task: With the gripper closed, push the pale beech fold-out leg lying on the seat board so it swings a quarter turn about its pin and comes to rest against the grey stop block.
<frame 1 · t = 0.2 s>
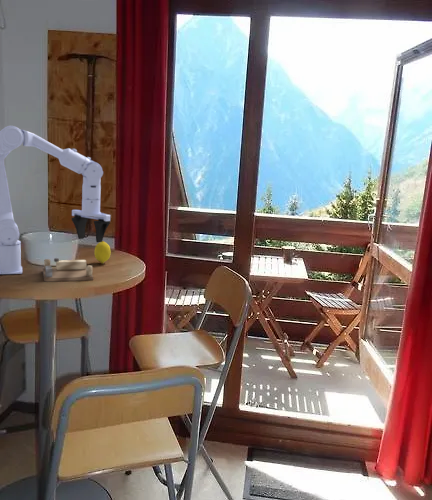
hand: (90, 240, 160), 10 cm above the table, tool pointing down, fingers open, 7 cm apart
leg: (70, 263, 155), point 3 cm above the table, hinge at 0.0°
lemon: (102, 264, 170), on the table
seat board: (67, 275, 151), on the table
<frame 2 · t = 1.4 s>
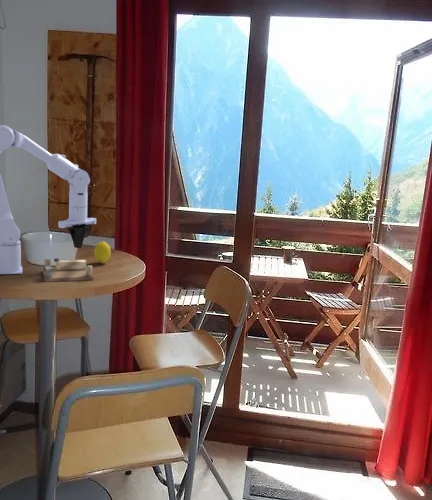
hand: (77, 247, 160), 7 cm above the table, tool pointing down, fingers closed
nothing on the table moved.
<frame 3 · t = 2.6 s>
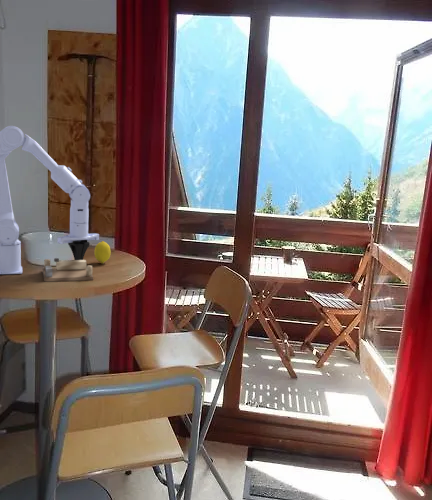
hand: (78, 263, 159), 2 cm above the table, tool pointing down, fingers closed, pressing on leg
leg: (70, 263, 155), point 3 cm above the table, hinge at 0.0°, touching gripper
everything else where it was.
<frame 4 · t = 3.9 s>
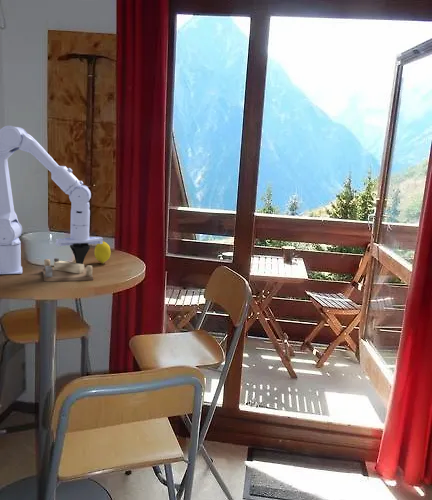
hand: (79, 267, 154), 2 cm above the table, tool pointing down, fingers closed
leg: (68, 265, 152), point 3 cm above the table, hinge at 37.5°, touching gripper
everything else where it was.
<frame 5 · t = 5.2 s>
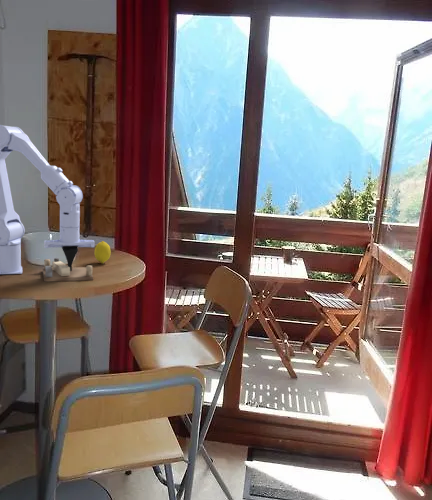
hand: (69, 270, 149), 2 cm above the table, tool pointing down, fingers closed, pressing on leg
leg: (60, 266, 150), point 3 cm above the table, hinge at 76.8°, touching gripper
everything else where it was.
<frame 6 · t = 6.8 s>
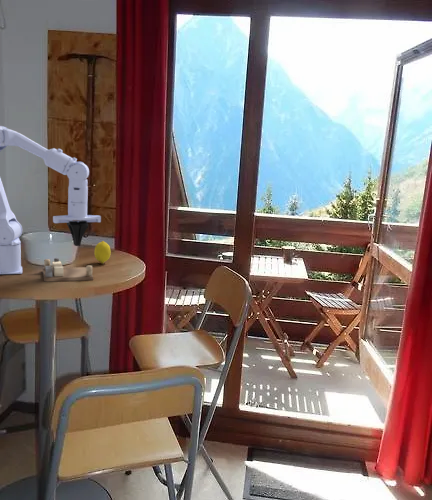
hand: (76, 245, 152), 9 cm above the table, tool pointing down, fingers closed
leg: (57, 267, 149), point 3 cm above the table, hinge at 89.5°
everything else where it was.
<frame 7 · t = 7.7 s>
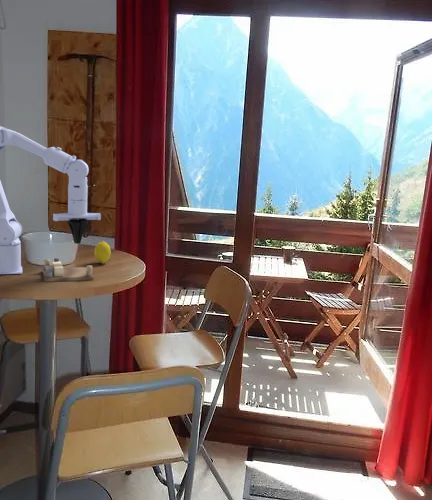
hand: (77, 243, 152), 10 cm above the table, tool pointing down, fingers closed
nothing on the table moved.
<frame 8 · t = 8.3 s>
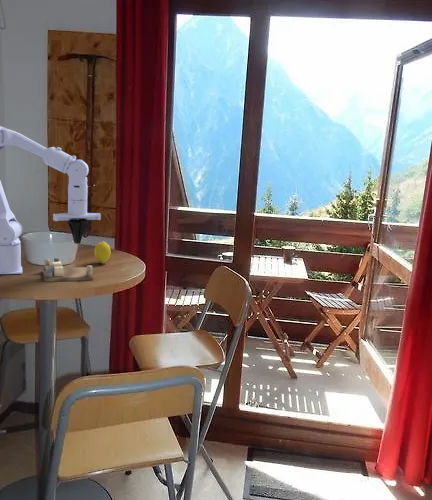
hand: (77, 243, 152), 10 cm above the table, tool pointing down, fingers closed
nothing on the table moved.
at the end: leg at +90° (first picture: +0°); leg touching nothing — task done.
